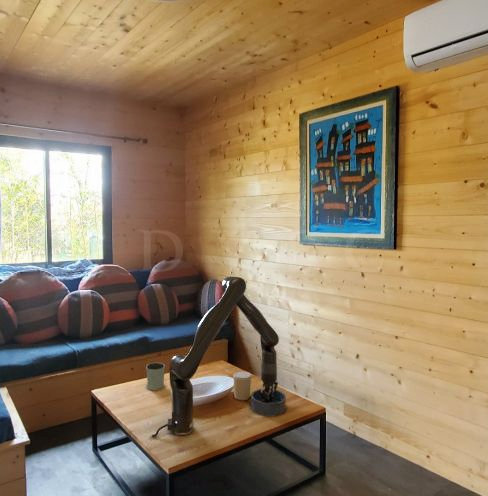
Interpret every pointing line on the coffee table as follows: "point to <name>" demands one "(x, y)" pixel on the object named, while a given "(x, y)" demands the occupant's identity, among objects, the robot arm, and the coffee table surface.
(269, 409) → the bowl
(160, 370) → the green cylindrical pot
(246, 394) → the coffee cup
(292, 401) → the coffee table surface
